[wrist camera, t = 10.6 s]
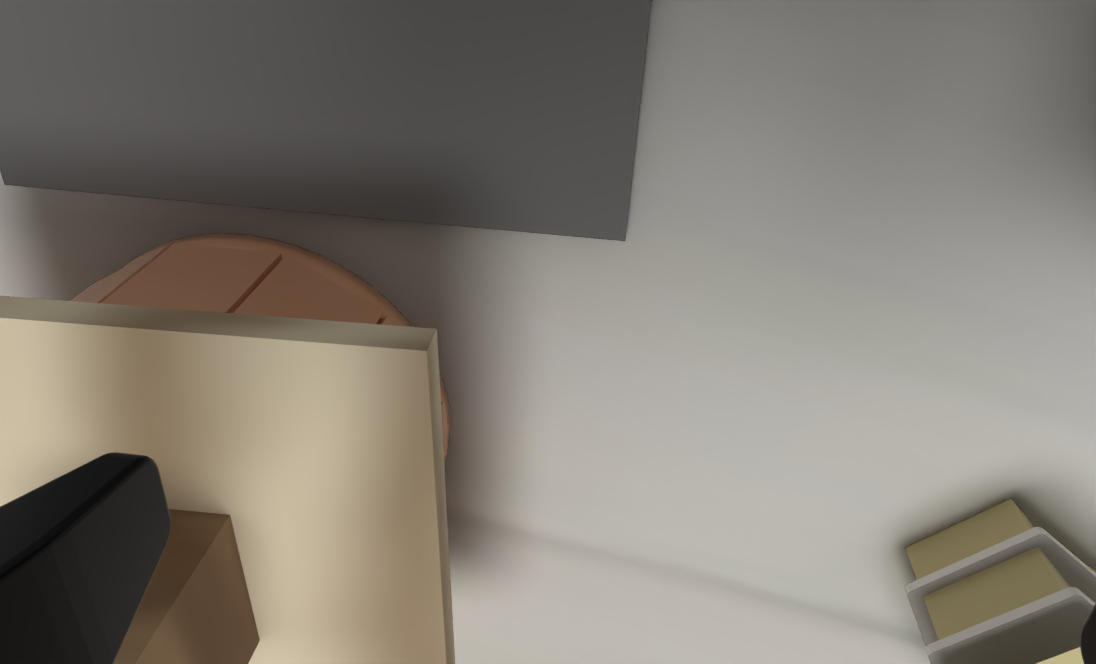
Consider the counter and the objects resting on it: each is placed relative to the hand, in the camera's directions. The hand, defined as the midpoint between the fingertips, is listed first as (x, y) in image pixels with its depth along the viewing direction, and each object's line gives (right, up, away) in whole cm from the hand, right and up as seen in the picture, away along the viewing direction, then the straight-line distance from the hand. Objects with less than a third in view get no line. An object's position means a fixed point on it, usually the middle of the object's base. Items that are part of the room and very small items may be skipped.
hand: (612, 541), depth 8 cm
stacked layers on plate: (+13, -6, +17) cm, 23 cm away
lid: (-9, -3, +11) cm, 15 cm away
